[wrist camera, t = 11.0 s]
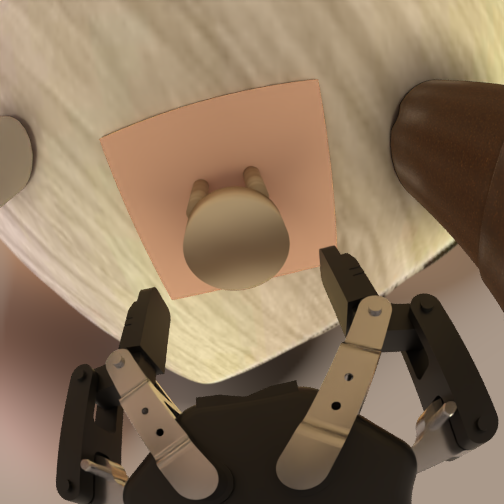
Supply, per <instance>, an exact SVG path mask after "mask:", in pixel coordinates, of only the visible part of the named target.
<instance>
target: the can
mask: <svg viewBox="0 0 504 504" xmlns="http://www.w3.org/2000/svg"><path fill="white" fill-rule="evenodd" d="M32 155H33V153H32V148H31V143H30V139H29V137H28V134H27V132H26V130H25V128H24V127H23V126H22V125H21V123H20V122H19V121H18V120H16V119H14V118H13V117H11V116H1V117H0V208H1V207H2V206H3V205H4V204H5V203H7V202H8V201H9V200H10V199H11V198H13V197H14V196H15V195H16V194H18V193H19V192H20V191H21V190H22V189H24V187H25V186H26V184H27V182H28V180H29V178H30V174H31V170H32Z"/></svg>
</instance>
